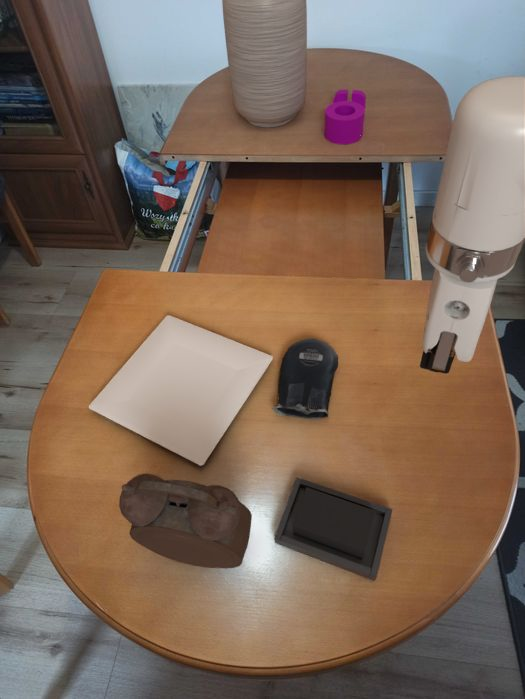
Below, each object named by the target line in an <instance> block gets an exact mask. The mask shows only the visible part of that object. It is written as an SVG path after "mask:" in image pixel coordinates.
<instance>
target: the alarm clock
mask: <svg viewBox="0 0 525 699" xmlns="http://www.w3.org/2000/svg"><path fill="white" fill-rule="evenodd" d="M118 507H119V510H120V513H121V515H122V517H123V518H124V519H125V520H126V521H127V522H129V523H130V524H131V526H130V529H129V533H128V534H129V536H130V537H131V539H132V540H133V541H134V542H136V543H137V544H139V545H140V546H141V547H144V548H145V549H147V550H149V551H151V552H153V553H155V554H156V555H159V556H161V557H164V558H165V559H169V560H171V561H175V562H178V563H182V564H185V565H190V566H194V567H199V568H208V569H209V568H210V569H233V568H237V567H240V566H241V565H242V564H243V562H244V557H245V554H246V552H247V549H248V547H249V546H248V545H249V541H250V536H251V527H252V520H253V514H252V512H251V510H250V509H249V508H248V506H246V505H245V504H244V503H242V502H241V500H239V498H238V497H237V495H236V493H235V492H234V491H233V490H231V489H230V488H228V487H227V486H223V485H220V484H214V485H213V484H212V485H211V484H209V485H207V484H203V483H199V482H195V481H188V480H181V479H166V480H165V479H163V478H162V477H160V476H158V475H156V474H151V473H141V474H137V475H136V476H134V477H132V478H131V479H130V480H128V481H127V483H124V484H122V486H121V492H120V494H119V502H118Z"/></svg>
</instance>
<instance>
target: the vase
mask: <svg viewBox="0 0 525 699" xmlns="http://www.w3.org/2000/svg"><path fill="white" fill-rule="evenodd" d="M221 2H222V3H221V6H222V19H223V28H224V37H225V38H224V39H225V48H226V56H227V64H228V65H227V66H228V73H229V82H230V89H231V96H232V100H233V105H234V108H235V110H236V111H237V113H238V114H239V115H240V116H241V117H242V118H244V119H245V120H246V121H247V122H248V124H251V125H253V126H256V127H259V128H276V127H281V126H283V125H286V124H288V123H290V122H292V121H293V119H294V118H295V117H296V115H297V114H298V113H300V111H301V109H303V106H304V105H305V102H306V98H307V86H308V85H307V84H308V83H307V80H308V79H307V78H308V77H307V75H308V74H307V73H308V7H307V0H221Z"/></svg>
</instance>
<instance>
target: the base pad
mask: <svg viewBox="0 0 525 699" xmlns="http://www.w3.org/2000/svg"><path fill="white" fill-rule="evenodd" d="M306 487H308V488H311V489H313V490H316V491H319V492H322V493H325V494H328V495H331V496H334V497H337V498H340V499H343V500H346V501H348V502H351V503H354V504H357V505H360V506H363V507H366V508H369V509H372V510H375V511H376V512H375V515H374V519H373V523H372V527H371V531H370V535H369V539H368V543H367V546H366V550H365V554H364V557H363V559H360V558H357V557H354V556H352V555H349V554H346V553H344V552H341V551H338V550H336V549H333V548H330V547H327V546H325V545H322V544H319V543H317V542H314V541H311V540H309V539H306V538H303V537H301V536H298V535H295V534H293V523H294V521H295V518H296V515H297V512H298V509H299V506H300V504H301V501H302V498H303V495H304V492H305V489H306ZM392 513H393V509H392V508H390V507H387V506H384V505H381V504H378V503H375V502H372V501H369V500H367V499H363V498H361V497H358V496H355V495H352V494H349V493H346V492H343V491H340V490H337V489H334V488H331V487H328V486H325V485H322V484H319V483H316V482H314V481H311V480H307V479H305V478H301V477H298V476H296V478H295V480H294V482H293V486H292V489H291V491H290V494H289V497H288V500H287V502H286V505H285V508H284V510H283V513H282V515H281V518H280V521H279V524H278V527H277V529H276V532H275V534H274V538H273V539H274V544H277V545H279V546H282V547H285V548H288V549H290V550H292V551H295V552H298V553H300V554H303V555H306V556H308V557H311V558H312V559H316V560H318V561H321V562H324V563H326V564H328V565H332V566H334V567H336V568H340V569H342V570H345V571H348V572H350V573H353V574H355V575H357V576H361V577H362V578H366V579H368V580H371V581H373V582H375V581H376V579H377V577H378V572H379V569H380V564H381V560H382V556H383V551H384V547H385V542H386V538H387V533H388V530H389V525H390V523H391V522H390V521H391V518H392Z"/></svg>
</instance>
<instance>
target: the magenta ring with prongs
mask: <svg viewBox="0 0 525 699" xmlns="http://www.w3.org/2000/svg"><path fill="white" fill-rule="evenodd" d="M348 99H349V89H339V90H337V91H336V92H335V93H334V97H333V101H332V103H330V104H329V105H327V106H326V107H325V110H324V131H323V132H324V138H325V140H326V141H328V142H330V143H332V144H335V145H350V144H354V143H357V142H358V141H360V140H361V139H362V137H363V135H364V126H365V125H364V123H365V114H366V103H367V102H366V101H367V96H366V93H365V92H364V91H363V90H361V89H353V90H352V92H351V100H348ZM360 135H361V136H360Z"/></svg>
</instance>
